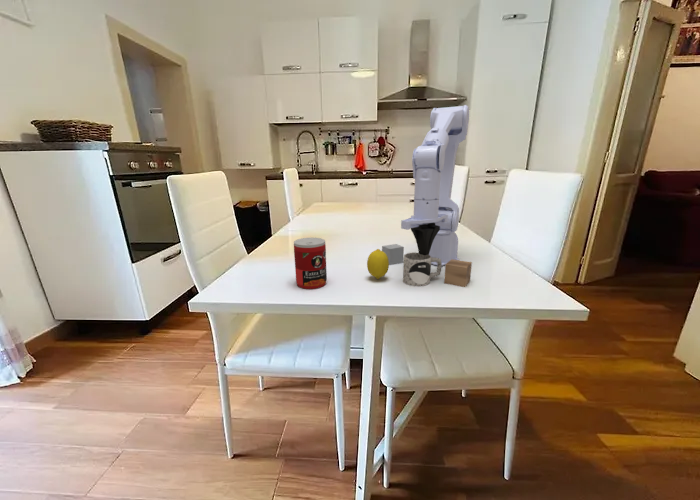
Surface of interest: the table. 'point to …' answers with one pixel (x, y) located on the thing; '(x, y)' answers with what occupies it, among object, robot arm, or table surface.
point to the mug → (419, 269)
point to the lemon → (377, 263)
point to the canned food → (310, 262)
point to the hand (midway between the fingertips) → (423, 254)
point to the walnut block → (457, 272)
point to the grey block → (394, 253)
